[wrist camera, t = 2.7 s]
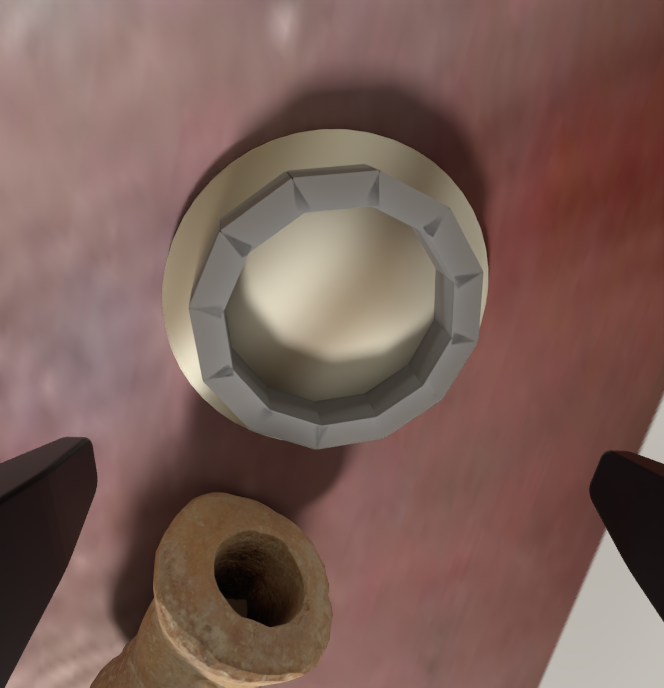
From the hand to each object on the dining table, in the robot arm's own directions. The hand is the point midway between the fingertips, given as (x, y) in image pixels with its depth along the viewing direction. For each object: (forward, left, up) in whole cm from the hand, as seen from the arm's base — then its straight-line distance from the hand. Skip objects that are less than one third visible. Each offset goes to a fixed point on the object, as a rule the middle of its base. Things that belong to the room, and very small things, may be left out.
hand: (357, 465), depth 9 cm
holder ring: (+3, -1, -14) cm, 14 cm away
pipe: (+4, -20, -14) cm, 24 cm away
